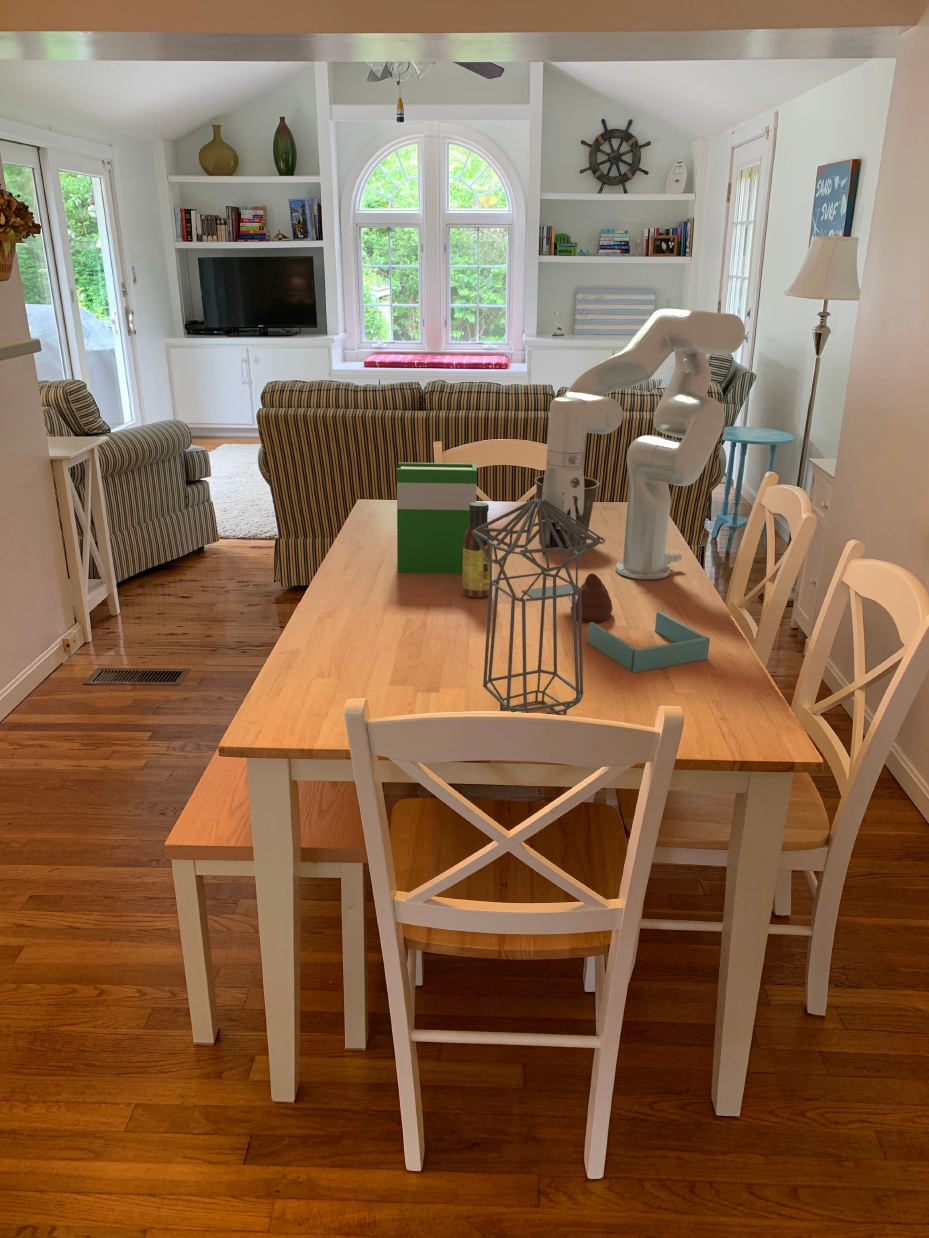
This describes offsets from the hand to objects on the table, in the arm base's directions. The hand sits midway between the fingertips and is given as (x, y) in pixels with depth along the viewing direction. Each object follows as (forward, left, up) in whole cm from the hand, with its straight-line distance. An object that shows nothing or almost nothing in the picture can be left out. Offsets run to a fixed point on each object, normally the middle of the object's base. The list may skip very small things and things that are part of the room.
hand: (557, 545), depth 198 cm
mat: (-1, -2, -11) cm, 11 cm away
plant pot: (-23, -35, -12) cm, 43 cm away
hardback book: (+16, -27, -12) cm, 34 cm away
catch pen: (-1, +33, -11) cm, 35 cm away
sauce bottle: (+15, -7, -12) cm, 20 cm away
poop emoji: (-1, +13, -12) cm, 17 cm away
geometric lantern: (+32, +48, -12) cm, 59 cm away
